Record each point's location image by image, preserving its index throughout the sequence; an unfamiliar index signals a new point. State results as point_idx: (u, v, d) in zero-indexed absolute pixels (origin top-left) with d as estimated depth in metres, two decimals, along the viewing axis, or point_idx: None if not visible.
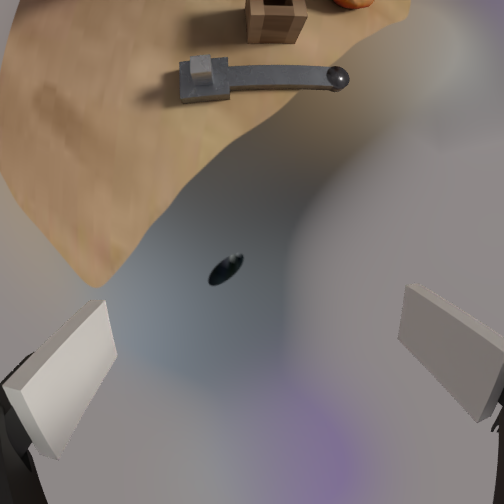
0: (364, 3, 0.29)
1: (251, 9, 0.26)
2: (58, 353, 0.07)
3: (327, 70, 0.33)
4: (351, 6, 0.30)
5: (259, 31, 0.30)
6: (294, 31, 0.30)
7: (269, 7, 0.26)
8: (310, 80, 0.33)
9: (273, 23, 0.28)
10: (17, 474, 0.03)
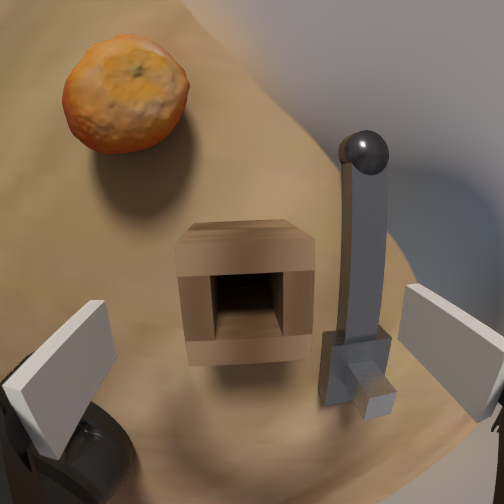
0: (178, 65, 0.15)
1: (293, 357, 0.15)
2: (58, 353, 0.07)
3: (359, 171, 0.19)
4: None
5: None
6: None
7: (289, 325, 0.15)
8: (379, 207, 0.20)
9: None
10: (17, 474, 0.03)
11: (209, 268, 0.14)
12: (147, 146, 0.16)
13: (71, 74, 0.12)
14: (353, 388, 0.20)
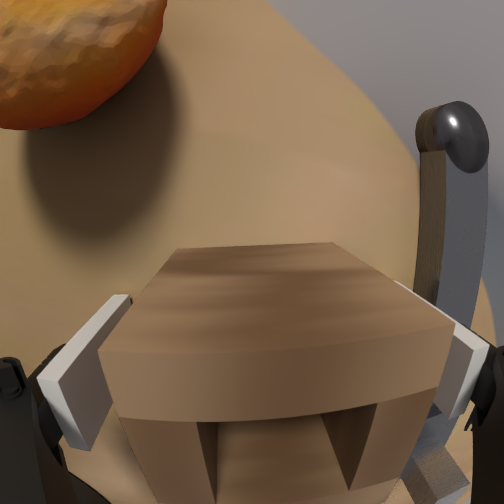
0: None
1: None
2: (90, 345, 0.08)
3: (455, 165, 0.10)
4: (162, 19, 0.08)
5: None
6: None
7: (365, 477, 0.06)
8: (478, 224, 0.11)
9: None
10: (49, 469, 0.04)
11: (194, 408, 0.05)
12: (78, 107, 0.07)
13: None
14: (411, 478, 0.11)
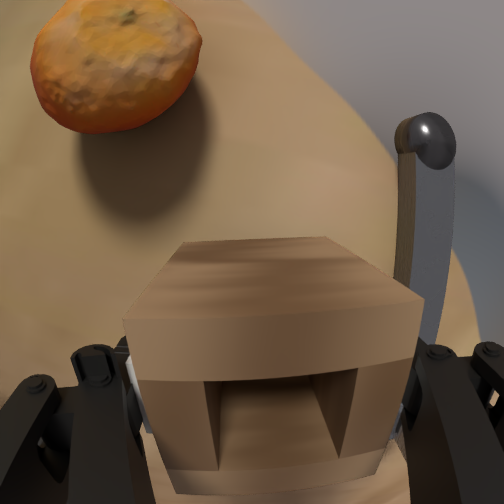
0: (187, 15, 0.10)
1: (348, 477, 0.07)
2: None
3: (423, 164, 0.14)
4: (198, 54, 0.11)
5: None
6: None
7: (353, 444, 0.07)
8: (445, 211, 0.14)
9: None
10: (135, 462, 0.05)
11: (201, 368, 0.06)
12: (141, 121, 0.11)
13: (41, 30, 0.07)
14: (399, 431, 0.15)
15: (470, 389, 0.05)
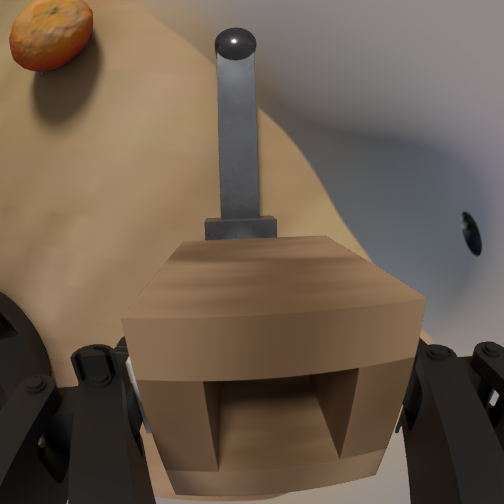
0: (86, 6, 0.16)
1: (349, 478, 0.07)
2: None
3: (224, 58, 0.20)
4: (90, 25, 0.17)
5: None
6: None
7: (354, 444, 0.07)
8: (246, 85, 0.20)
9: None
10: (135, 462, 0.05)
11: (201, 368, 0.06)
12: (57, 58, 0.16)
13: (15, 20, 0.13)
14: None
15: (470, 389, 0.05)
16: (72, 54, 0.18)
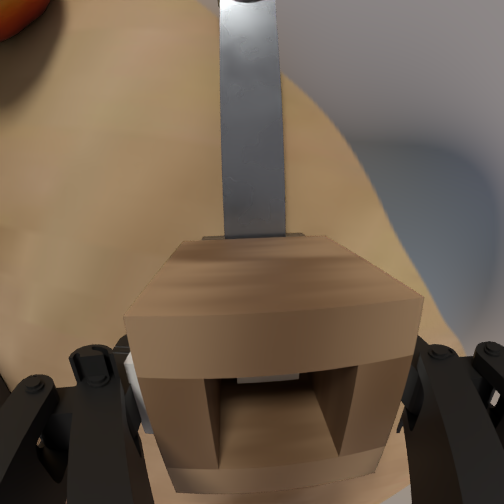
0: None
1: (348, 476, 0.07)
2: None
3: (230, 0, 0.11)
4: None
5: None
6: None
7: (353, 442, 0.07)
8: (264, 35, 0.12)
9: None
10: (134, 462, 0.05)
11: (202, 366, 0.06)
12: (3, 20, 0.08)
13: None
14: None
15: (471, 389, 0.05)
16: (24, 14, 0.10)
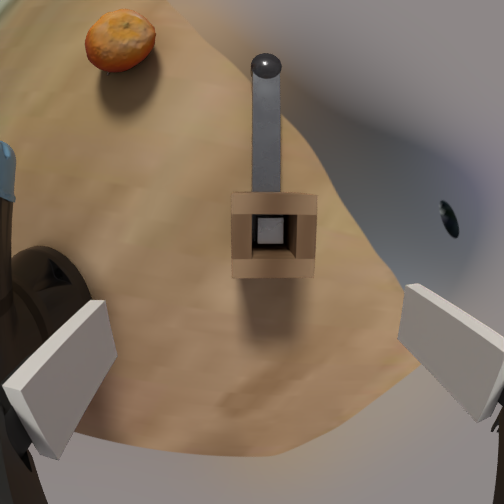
0: (150, 24, 0.24)
1: (302, 276, 0.24)
2: (58, 353, 0.07)
3: (258, 76, 0.28)
4: (154, 40, 0.26)
5: None
6: None
7: (300, 251, 0.23)
8: (274, 98, 0.28)
9: None
10: (17, 474, 0.03)
11: (251, 209, 0.22)
12: (128, 64, 0.25)
13: (91, 27, 0.21)
14: (256, 227, 0.29)
15: None
16: (139, 62, 0.26)
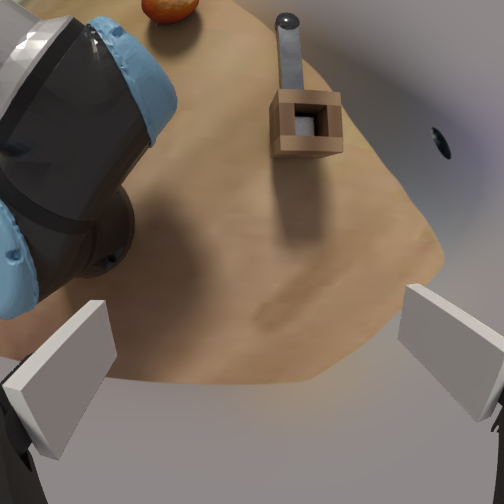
0: None
1: (334, 150, 0.29)
2: (58, 353, 0.07)
3: (282, 28, 0.32)
4: (198, 0, 0.30)
5: None
6: None
7: (331, 130, 0.28)
8: (295, 43, 0.33)
9: None
10: (17, 474, 0.03)
11: (293, 99, 0.27)
12: (180, 15, 0.29)
13: None
14: None
15: None
16: (187, 15, 0.31)
